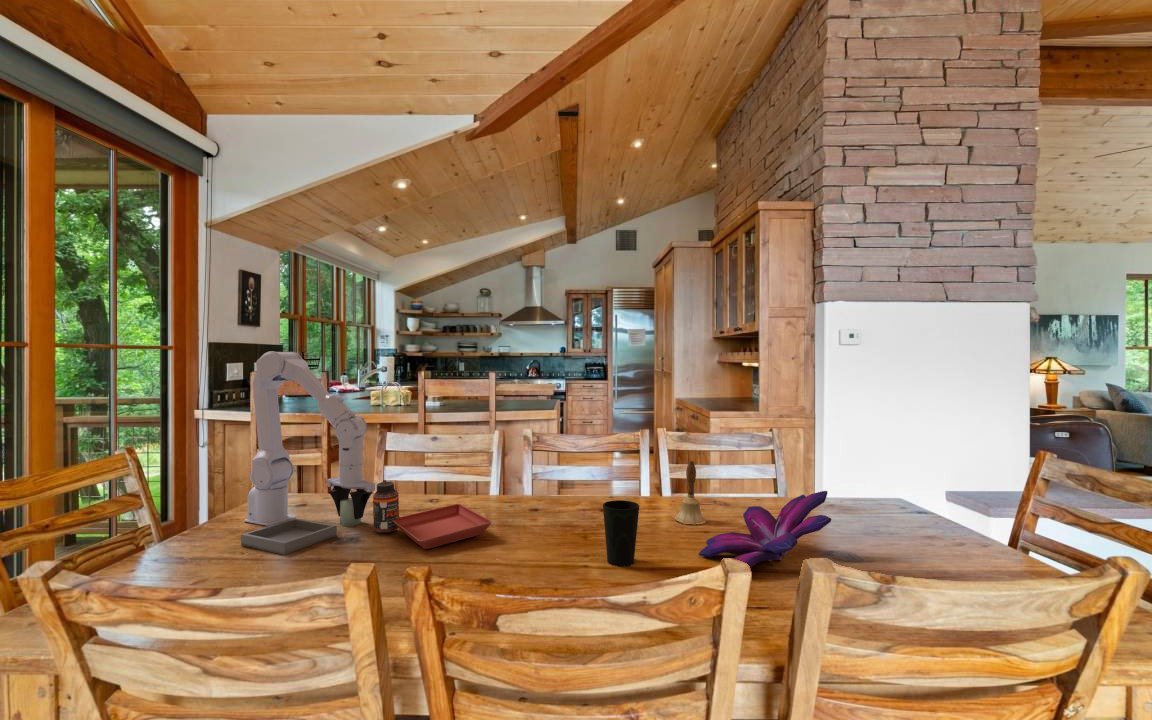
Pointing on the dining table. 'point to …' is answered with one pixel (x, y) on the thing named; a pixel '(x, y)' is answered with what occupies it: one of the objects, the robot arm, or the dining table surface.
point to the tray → (288, 536)
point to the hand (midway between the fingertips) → (350, 516)
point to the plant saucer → (442, 525)
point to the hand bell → (690, 500)
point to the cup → (620, 531)
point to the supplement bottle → (385, 507)
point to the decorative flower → (770, 531)
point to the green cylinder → (347, 513)
